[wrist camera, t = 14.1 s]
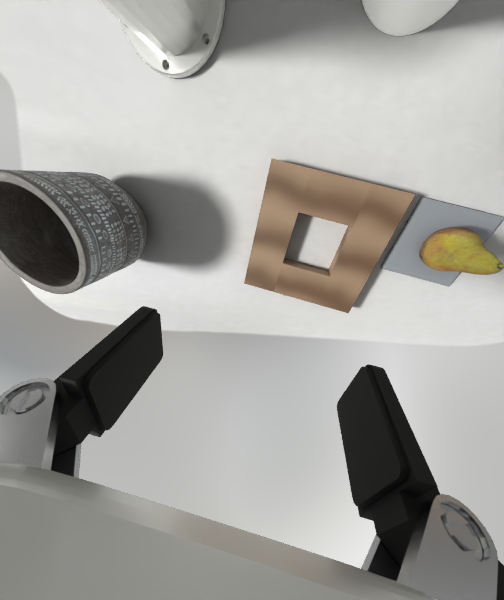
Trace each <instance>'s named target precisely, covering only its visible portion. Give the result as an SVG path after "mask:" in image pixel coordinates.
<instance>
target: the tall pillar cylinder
mask: <svg viewBox="0 0 504 600" xmlns="http://www.w3.org/2000/svg"><path fill="white" fill-rule="evenodd" d="M458 1H459V0H362V4H363V7H364V10H365V12H366V14H367V16H368V18H369V20H370V21H371V22H372V24H373V25H374V26H375V27H376V28H378V29H379V30H380V31H382V32H384V33H386V34H389V35H393V36H406V35H411V34H414V33H417V32H419V31H422V30H424V29H426V28H427V27H429V26H431V25H432V24H434V23H435V22H437V21H438V20H439V19H441V18H442V17H443V16H444V15H445V14H446V13H447V12H449V11H450V10H451V9H452V8H453V7H454V6H455V4H456V3H457V2H458Z"/></svg>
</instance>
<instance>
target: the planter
mask: <svg viewBox="0 0 504 600" xmlns="http://www.w3.org/2000/svg"><path fill="white" fill-rule="evenodd" d="M147 231H148V227H147V221H146V217H145V215H144V213H143V211H142V209H141V207H140V206H139V205H138V203H137V202H136V201H135V200H134V199H133V198H132V197H131V196H130V195H129V194H128V193H127V192H125V191H124V190H123V189H122V188H120V187H119V186H118V185H116V184H115V183H113V182H112V181H110V180H109V179H107V178H105V177H103V176H100V175H97V174H92V173H82V172H49V171H18V170H17V171H16V170H0V259H1V260H2V261H3V262H4V263H5V264H6V265H7V266H8V267H9V268H10V269H11V270H13V271H14V272H15V273H16V274H18V275H19V276H20V277H22V278H23V279H25V280H26V281H28V282H29V283H31V284H32V285H34V286H36V287H38V288H40V289H42V290H45V291H48V292H51V293H56V294H68V293H72V292H74V291H77V290H79V289H81V288H83V287H85V286H87V285H89V284H91V283H94V282H96V281H98V280H100V279H102V278H104V277H106V276H108V275H110V274H112V273H114V272H116V271H118V270H121V269H123V268H125V267H127V266H129V265H130V264H132V263H134V262H135V261H136V260H138V258H139V257H140V256H141V254H142V252H143V250H144V247H145V244H146V239H147Z"/></svg>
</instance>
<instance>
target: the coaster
mask: <svg viewBox="0 0 504 600" xmlns="http://www.w3.org/2000/svg"><path fill="white" fill-rule="evenodd" d="M503 219H504V217H500V216H496V215H492V214H488V213H484V212H480V211H476V210H472V209H468V208H464V207H460V206H456V205H452V204H448V203H444V202H440V201H436V200H432V199H428V198H424V197H422V198H421V199H420V201H419V203H418V204H417V206H416V208H415V210H414V211H413V213H412V215H411V217H410V218H409V220H408V222H407V223H406V225H405V227H404V229H403V230H402V232H401V234H400V235H399V237H398V239H397V241H396V242H395V244H394V246H393V247H392V249H391V251H390V253H389V254H388V256H387V258H386V259H385V261H384V263H383V265H382V266H381V268H383V269H386V270H390V271H394V272H397V273H401V274H405V275H408V276H412V277H416V278H419V279H423V280H427V281H430V282H434V283H438V284H441V285H445V286H450V284H451V283H452V282H453V281H454V279H455V278H456V277H457V276H458V275H459V273H460V272H458V271H450V272H443V271H438V270H435V269H432V268H430V267H428V266H427V265H425V264H424V263H423V262H422V260H421V259H420V256H419V251H420V249H421V246H422V245H423V243H424V241H425V240H426V239H427V238H428V237H429V236H430V235H431V234H432V233H434V232H435V231H438V230H441V229H445V228H450V227H464V228H468V229H471V230H473V231H475V232H476V233H477V234H478V235H479V236H480V237H481V239H482V241H483V244H484V242H485V241H486V240H487V239H488V237H489V236H490V235H491V234H492V232H493V231H494V230H495V229H496V228H497V226H498V225H499V224H500V223H501V221H502V220H503Z"/></svg>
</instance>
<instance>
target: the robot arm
mask: <svg viewBox="0 0 504 600" xmlns="http://www.w3.org/2000/svg"><path fill="white" fill-rule="evenodd" d="M98 1H99V2H101V3H102V4H103V5H104V6H105V7H106V8H107V9H108V10H109V11H111V12H112V13H113V14H114V15H115V16H116V17H117V18H118V19H119V20H120V22H121V25H122V28H123V30H124V32H125V34H126V36H127V38H128V40H129V42H130V44H131V45H132V47H133V48H134V50H135V51H136V53H137V54H138V55H139V56H140V58H141V59H142V60H143V61H144V62H145V63H146V64H147V65H149V66H150V67H151V68H152V69H154V70H155V71H157V72H158V73H160V74H162V75H164V76H167V77H171V78H183V77H187V76H190V75H192V74H193V73H195V72H197V71H198V70H199V69H200V68H201V67H202V66H203V65H204V64H205V63H206V62H207V60H208V59H209V57H210V56H211V54H212V53H213V51H214V49H215V46H216V44H217V42H218V39H219V36H220V32H221V29H222V25H223V18H224V12H225V0H98ZM208 41H209V43H208V44H207V42H208ZM168 67H169V69H168ZM162 356H163V346H162V333H161V321H160V314H159V313H157V310H156V309H152V308H149V307H145V306H143V307H141V308H140V309H138V310H137V311H136V312H135V313H134V314H132V315H131V316H130V317H129V318H128V319H127V320H125V321H124V322H123V323H122V324H121V325H119V326H118V327H117V328H116V329H115V330H114V331H112V332H111V333H110V334H109V335H108V336H107V337H106V338H104V339H103V340H102V341H101V342H99V343H98V344H97V345H96V346H95V347H94V348H92V349H91V350H90V351H89V352H88V353H86V354H85V355H84V356H83V357H82V358H81V359H79V360H78V361H77V362H76V363H75V364H73V365H72V366H71V367H70V368H69V369H68V370H66V371H65V372H64V373H63V374H62V375H61V376H59V377H58V378H57V379H56V380H55V381H52V380H50V379H47V378H37V379H31V380H28V381H25V382H22V383H20V384H17V385H15V386H13V387H12V388H10V389H9V390H7V391H6V392H4V393H3V394H2V395H1V396H0V600H504V565H503V564H501V563H500V561H499V560H498V557H497V551H496V548H495V546H494V543H493V541H492V539H491V537H490V535H489V533H488V532H487V530H486V528H485V527H484V526H483V524H482V523H481V522H480V521H479V519H478V518H477V517H476V516H475V515H474V514H473V513H472V512H471V511H470V510H469V509H468V507H466V506H465V505H464V504H462V503H461V502H460V501H459V500H457V499H455V498H453V497H451V496H449V495H444V494H441V495H440V493H439V491H438V488H437V485H436V482H435V480H434V478H433V476H432V473H431V471H430V469H429V467H428V465H427V462H426V460H425V458H424V456H423V454H422V451H421V449H420V447H419V445H418V443H417V441H416V438H415V436H414V434H413V431H412V429H411V427H410V425H409V423H408V420H407V418H406V416H405V414H404V412H403V409H402V407H401V405H400V403H399V401H398V398H397V396H396V394H395V392H394V390H393V387H392V385H391V383H390V381H389V379H388V377H387V374H386V372H385V370H384V369H383V368H380V367H377V366H373V365H366V366H365V367H361V369H360V370H359V372H358V373H357V375H356V376H355V377H354V379H353V380H352V382H351V383H350V385H349V386H348V388H347V390H346V391H345V392H344V394H343V395H342V397H341V398H340V400H339V401H338V404H337V411H338V417H339V423H340V429H341V434H342V440H343V446H344V451H345V457H346V463H347V469H348V474H349V480H350V486H351V492H352V497H353V501H354V503H355V505H356V506H358V510H359V515H360V517H363V518H367V519H370V520H373V521H374V524H375V529H376V533H377V534H376V536H375V538H374V541H373V543H372V545H371V547H370V550H369V552H368V554H367V556H366V559H365V561H364V564H363V565H362V568H361V569H360V568H356V567H354V566H351V565H348V564H345V563H342V562H339V561H336V560H333V559H330V558H327V557H324V556H321V555H318V554H315V553H312V552H309V551H306V550H302V549H299V548H296V547H293V546H290V545H287V544H284V543H281V542H278V541H275V540H272V539H269V538H266V537H262V536H260V535H256V534H253V533H250V532H247V531H244V530H241V529H238V528H234V527H232V526H228V525H225V524H222V523H219V522H216V521H213V520H209V519H207V518H203V517H200V516H197V515H194V514H191V513H188V512H184V511H182V510H178V509H175V508H172V507H169V506H166V505H163V504H159V503H156V502H153V501H150V500H147V499H144V498H141V497H137V496H134V495H131V494H128V493H125V492H121V491H118V490H115V489H112V488H109V487H106V486H102V485H99V484H96V483H93V482H89V481H86V480H82V479H79V468H80V453H81V443H82V441H83V440H84V439H85V438H86V436H87V435H88V434H91V435H94V436H98V437H101V435H102V434H103V433H104V431H105V430H109V429H110V428H111V427H112V426H113V425H114V423H115V422H116V421H117V419H118V418H119V417H120V415H121V414H122V413H123V411H124V410H125V409H126V407H127V406H128V404H129V403H130V402H131V400H132V399H133V398H134V396H135V395H136V394H137V392H138V391H139V389H140V388H141V387H142V385H143V384H144V383H145V381H146V380H147V379H148V377H149V376H150V374H151V373H152V372H153V370H154V369H155V368H156V366H157V365H158V364H159V362H160V361H161V359H162Z"/></svg>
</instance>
